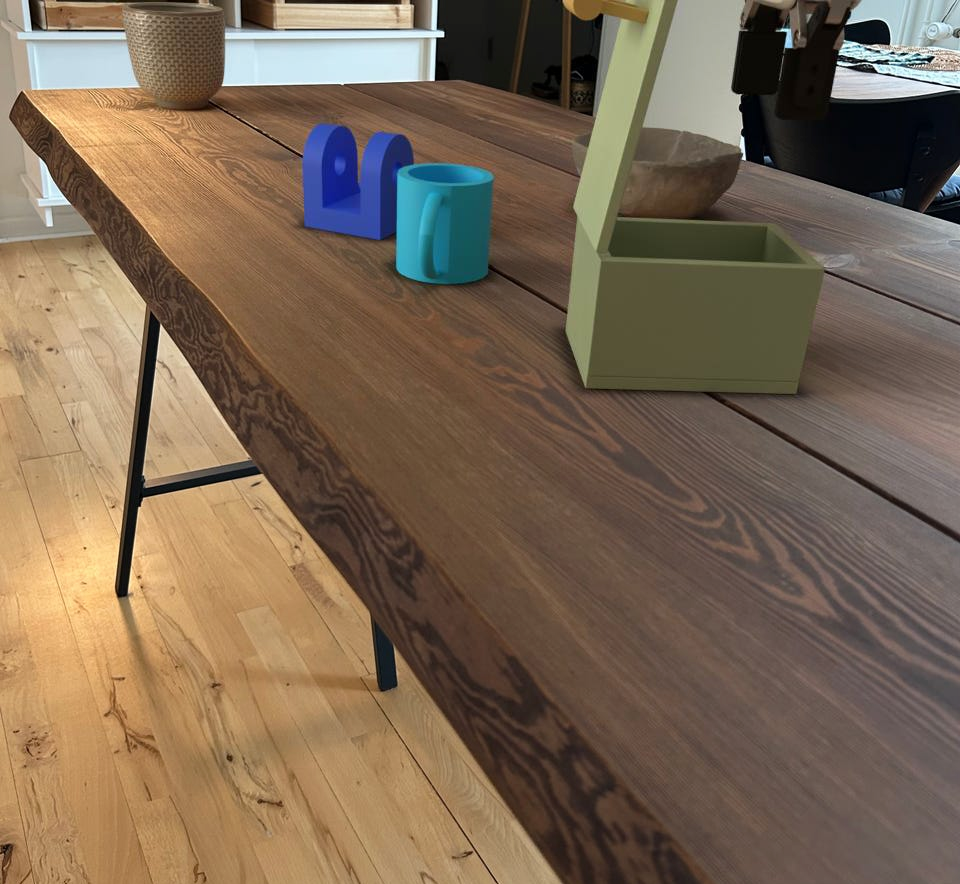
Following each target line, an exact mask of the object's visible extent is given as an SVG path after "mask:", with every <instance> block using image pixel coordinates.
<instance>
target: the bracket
mask: <svg viewBox="0 0 960 884" xmlns="http://www.w3.org/2000/svg"><path fill="white" fill-rule="evenodd" d="M358 156H359V154H358V147H357V142H356V138H355V136H354V134H353V132H352V131H351V130H350V128H348V127H347V126H345V125H339V124H333V123H332V124H331V123H325V122H323V123H319V124H317V125H316V126H315V127H313V128H312V130H311V131H310V133H309V134H308V137H307V138H306V141H305V144H304V147H303V153H302V188H303V189H302V191H303V192H302V195H303V219H304V220H303V221H304V227H306V228H311V229H317V230H323V231H327V232H333V233H339V234H345V235H351V236H356V237H361V238H366V239H372V240H378V241H381V240H384V239H385V238H387V237H389V236H391V235H393V234H395V233H397V173H398V170H399V169H401V168H403V167H405V166H410V165H414V164H415V159H414V158H415V157H414V151H413V147H412V145H411V141H410V140H409V138H408V137H407V136H406V135H404V134H401V133H396V132H395V133H394V132H387V131H377V132H375V133H373V135H372V136H371V137H370V138H369V139H368V142H367V143H366V146H365V148H364V151H363V155H362V158H361V164H360V181H359V157H358Z"/></svg>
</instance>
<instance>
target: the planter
mask: <svg viewBox="0 0 960 884" xmlns="http://www.w3.org/2000/svg"><path fill="white" fill-rule="evenodd" d="M121 15H122V22H123V23H122V24H123V28H124V34H125V38H126V44H127V50H128V51H127V52H128V55H129V58H130V59H129V60H130V64H131V68H132V71H133V75H134V78H135V80H136V82H137V85H138V87H140V89H141V90H142V91H143V92H144V93H146V94H147V95H148V96H150V97H151V98H153V99H154V101H155V103H156V105H157V106H158V107H160V108H163V109H168V110H176V111H178V110H179V111H181V110H182V111H184V110H185V111H186V110H187V111H188V110H199V109H204V108H206V107H207V106H208V105H209V101H210V99H211V98H212V97H213V96H215V95H216V94H217V93H218V92H219V91H220V90H221V88H222V87H223V84H224V78H225V69H226V15H225V10H224V9H223V8H222V7H220V6H216V5H210V4H202V3H189V2H166V1H165V2H164V1H156V2H155V1H153V2H150V1H149V2H148V1H147V2H130V3H125V4H123V5H122V6H121Z"/></svg>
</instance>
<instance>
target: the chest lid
mask: <svg viewBox="0 0 960 884" xmlns="http://www.w3.org/2000/svg"><path fill="white" fill-rule="evenodd" d="M678 2H679V1H678V0H625V1H622V0H562V3H563V6H564V7H565V8H566V10H568V11H569V12H570V13H572V14H573V15H574V16H576V17H577V18H579V19H580V20H582V21H592V20H594V19H596V18H597V17H598V16H599V15H600V14H602V15H606V16H610V17H615V18H619V19H621V20H620V23H619V27H618V30H617V35H616V38H615V43H614V46H613V50H612V53H611V58H610V62H609V66H608V70H607V74H606V77H605V81H604V85H603V89H602V93H601V96H600V102H599V104H598V109H597V113H596V116H595V121H594V125H593V128H592V131H591V132H592V136H591V139H590V143H589V147H588V151H587V155H586V159H585V163H584V167H583V171H582V174H581V176H580V179H579V183H578V187H577V191H576V194H575V197H574V202H573V207H572V208H573V210H574V212H575V214H576V217H577V216H578V218H579V220H580V222H581V224H582V226H583V228H584V230H585V232H586V234H587V236H588V238H589V240H590V242H591V244H592V246H593V247H594V249H595V251H596V252H600V253H605V254H606V253H607V252H608V248H609V244H610V241H611V237H612V234H613V230H614V227H615V223H616V219H617V217H619V214H618V212H619V209H620V205H621V201H622V198H623V194H624V191H625V187H626V184H627V180H628V176H629V173H630V169H631V166H632V162H633V159H634V155H635V151H636V148H637V144H638V141H639V137H640V134H641V130H642V127H644V123H645V118H646V116H647V112H648V109H649V104H650V102H651V98H652V94H653V90H654V87H655V83H656V79H657V76H658V73H659V69H660V66H661V62H662V58H663V54H664V51H665V47H666V44H667V41H668V37H669V34H670V30H671V27H672V24H673V23H672V22H673V19H674V15H675V12H676V7H677V5H678Z"/></svg>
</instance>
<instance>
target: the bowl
mask: <svg viewBox="0 0 960 884" xmlns="http://www.w3.org/2000/svg"><path fill="white" fill-rule="evenodd" d="M592 132H593V131H587V132H584V133H581V134H578V135H575V137H573V138H572V140H571V150H572V156H573V161H574V164H575V168H576V170H577V173H578V175H579V176H580V177H581V174H582V171H583V167H584V163H585V159H586V155H587V151H588V147H589V143H590V139H591V136H592ZM743 157H744V152H743V151H742V148H741V147H740V146H738V145H734V144H731V143H727V142H723V141H721V140H719V139H716V138H713V137H710V136H708V135H704V134H700V133H693V132H691V131H688V130H682V131H681V130H678V129H673V128H671V129H670V128H661V127H647V126H645V127H644V126H642V130H641V134H640V137H639V141H638V144H637V148H636V151H635V155H634V159H633V162H632V166H631V169H630V173H629V176H628V180H627V184H626V187H625V191H624V194H623V198H622V201H621V205H620V209H619V212H618V215H621V216H623V217H627V218H652V219H677V220H693V218H696V217H698V216H700V215H701V214H704V213H705V212H706V211H708V210H709V209H710V208H711V207H712V206H714V205H715V203H717V202H718V201H719V199H720V198H721V197H722V196H723V195H724V194H725V193H726V192H727V191H728V190H729V189H730V188H731V187H732V186H733V185H734V183H735V180H736V178H737V175H738V172H739V170H740V166H741V162H742V159H743Z"/></svg>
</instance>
